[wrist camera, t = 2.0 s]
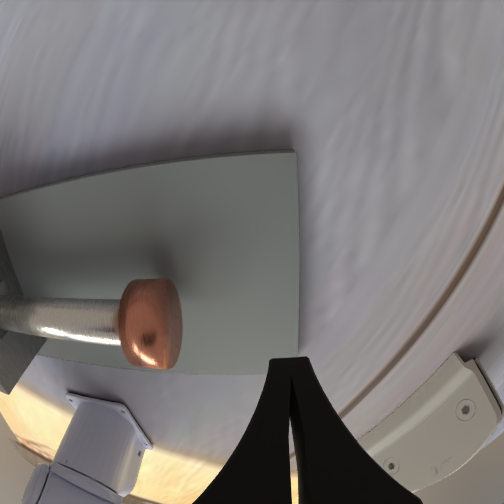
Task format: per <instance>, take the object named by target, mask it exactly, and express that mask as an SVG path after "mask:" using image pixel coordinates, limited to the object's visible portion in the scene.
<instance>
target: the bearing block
mask: <svg viewBox="0 0 504 504" xmlns="http://www.w3.org/2000/svg"><path fill="white" fill-rule="evenodd" d="M0 295H14V296H25V295H24V293H23V291H22V288H21V286H20V283H19V281H18V278H17V276H16V273H15V271H14V268H13V265H12V263H11V260H10V257H9V254H8V251H7V248H6V245H5V242H4V239H3V235H2V232H1V229H0ZM45 342H46V339H45V337H42V336H36V335H30V334H25V333H19V332H14V331H9V330H4V329H0V391H1V392H3V393H6V394H8V395H9V394H10V392H11V391H12V389H13V388H14V386H15V385H16V383H17V382H18V380H19V379H20V377H21V376H22V374H23V373H24V371H25V370H26V369H27V367H28V366H29V364H30V363H31V361H32V360H33V359H34V357H35V356H36V354H37V353H38V352H39V350H40V349H41V348H42V346H43V345H44V344H45Z"/></svg>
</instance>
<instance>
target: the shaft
mask: <svg viewBox="0 0 504 504" xmlns="http://www.w3.org/2000/svg"><path fill="white" fill-rule="evenodd" d="M0 329H4V330H9V331H14V332H19V333H25V334H30V335H36V336H42V337H48V338H55V339H62V340H69V341H77V342H85V343H94V344H104V345H114V346H121V347H122V350H123V353H124V355H125V357H126V358H127V360H128V361H129V362H130V363H131V364H132V365H133V366H135V367H141V368H153V369H167V370H169V369H172V368H173V367H174V366H175V364H176V363H177V360H178V358H179V354H180V350H181V345H182V334H183V322H182V310H181V303H180V299H179V295H178V292H177V289H176V287H175V285H174V283H173V282H172V281H171V280H170V279H167V278H161V279H134V280H132V281H131V282H130V283H129V284H128V285H127V286H126V288H125V290H124V292H123V294H122V297H121V299H80V298H52V297H31V296H14V295H0Z"/></svg>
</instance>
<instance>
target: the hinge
mask: <svg viewBox="0 0 504 504" xmlns="http://www.w3.org/2000/svg"><path fill="white" fill-rule="evenodd" d="M503 416H504V405H503V403H502V401H501V399H500V397H499V395H498V393H497V391H496V390H495V388H494V386H493V384H492V382H491V380H490V379H489V377H488V375H487V373H486V372H485V370H484V368H483V366H482V365H481V363H480V361H479V360H478V358H476V359H475V360H473V359H471V360H469V361H467V362H466V363H464V361H463V360H462V359H461V358H460V356H459V355H458V354H457V353H454V352H453V353H452V354H451V356H450V357H449V358H448V359H447V360H446V361H445V362H444V363H443V364H442V366H441V367H440V368H439V369H438V370H437V371H436V372H435V373H434V374H433V375H432V376H431V377H430V378H429V379H428V380H427V381H426V382H425V383H424V384H423V385H422V386H421V387H420V388H419V389H418V390H417V391H416V392H415V393H414V394H413V395H412V396H411V397H409V398H408V399H407V400H406V401H405V402H404V403H403V404H402V405H401V406H400V407H398V408H397V409H396V410H395V411H394V412H393V413H392V414H390V415H389V416H388V417H387V418H386V419H384V420H383V421H382V422H381V423H380V424H378V425H377V426H376V427H375V428H373V429H372V430H371V431H369V432H368V433H367V434H366V435H364V436H363V437H362V438H360V439H359V440H358V441H357V442H358V443H359V444H360V445H361V446H362V448H363V449H364V450H365V451H366V452H367V453H368V454H369V455H370V456H371V457H372V458H373V459H374V460H375V461H376V462H377V463H378V464H379V465H380V466H381V467H382V468H383V469H384V470H385V471H386V472H387V473H388V474H389V475H390V476H391V477H392V478H394V479H395V480H396V481H397V482H398V483H399V484H401V485H402V486H403V487H405V488H406V489H407V490H409V491H410V492H411V491H415V490H418V489H421V488H424V487H427V486H429V485H431V484H433V483H436V482H438V481H440V480H442V479H444V478H445V477H447V476H449V475H450V474H452V473H454V472H455V471H456V470H458V469H459V468H460V467H462V466H463V465H464V464H466V463H467V462H468V461H469V460H470V459H471V458H472V457H473V456H474V455H475V454H476V453H477V452H478V451H479V450H480V449H481V448H482V447H483V446H484V444H485V443H486V442H487V441H488V440H489V438H490V437H491V436H492V435H493V433H494V432H495V430H496V428H497V427H498V425H499V424H500V422H501V421H502V419H503Z"/></svg>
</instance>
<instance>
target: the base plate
mask: <svg viewBox="0 0 504 504" xmlns="http://www.w3.org/2000/svg"><path fill="white" fill-rule="evenodd" d="M0 229H1V232H2V235H3V239H4V242H5V245H6V248H7V251H8V254H9V257H10V260H11V263H12V265H13V268H14V271H15V273H16V276H17V278H18V281H19V283H20V286H21V288H22V291H23V293H24V295H25V296H31V297H52V298H80V299H121V297H122V294H123V292H124V290H125V288H126V286H127V285H128V284H129V283H130V282H131V281H132V280H134V279H161V278H167V279H170V280H171V281H172V282H173V283H174V285H175V287H176V289H177V292H178V295H179V299H180V303H181V310H182V322H183V334H182V345H181V350H180V354H179V358H178V360H177V363H176V364H175V366H174V367H173V368H172V369H169V370H167V369H153V368H141V367H135V366H133V365H132V364H131V363H130V362H129V361H128V360H127V358H126V357H125V355H124V353H123V350H122V347H121V346H114V345H104V344H94V343H85V342H77V341H69V340H62V339H55V338H48V337H45V339H46V342H45V344H44V345H43V346H42V348H41V349H40V350H39V352H38V353H37V354H38V355H42V356H47V357H52V358H57V359H62V360H68V361H73V362H79V363H86V364H92V365H99V366H106V367H114V368H122V369H131V370H141V371H153V372H167V373H184V374H216V375H246V374H267V373H268V367H269V360H271V359H272V358H290V357H298V329H299V205H298V173H297V152H295V151H294V150H270V151H253V152H239V153H227V154H217V155H207V156H198V157H189V158H181V159H174V160H166V161H159V162H153V163H146V164H140V165H134V166H128V167H123V168H117V169H112V170H107V171H102V172H97V173H92V174H87V175H83V176H78V177H74V178H70V179H66V180H61V181H57V182H53V183H49V184H46V185H42V186H38V187H34V188H31V189H27V190H24V191H20V192H17V193H14V194H10V195H7V196H4V197H1V198H0Z"/></svg>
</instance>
